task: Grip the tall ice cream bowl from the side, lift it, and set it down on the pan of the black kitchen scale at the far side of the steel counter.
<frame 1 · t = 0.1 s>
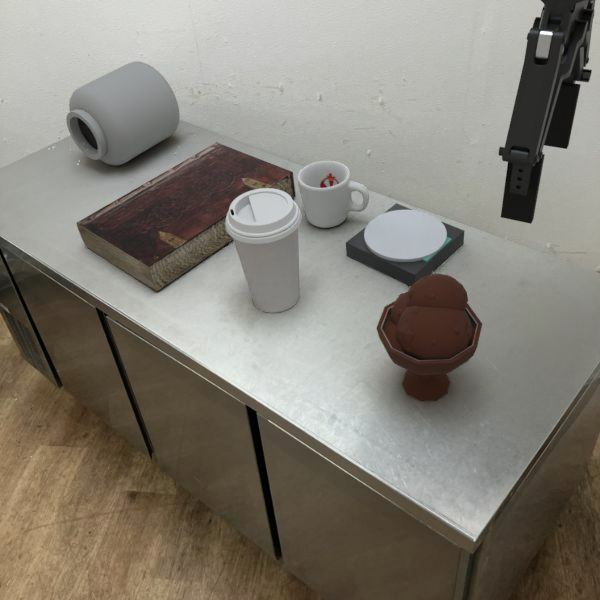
hand: (536, 179, 62), 24 cm above the worktop, tool pointing down, fingers open, 13 cm apart
cup: (336, 220, 101), on the worktop
coffee cup: (276, 297, 89), on the worktop
ice cream bowl: (425, 384, 75), on the worktop
scale: (404, 249, 94), on the worktop
jar: (125, 162, 121), on the worktop
hardback book: (192, 222, 104), on the worktop
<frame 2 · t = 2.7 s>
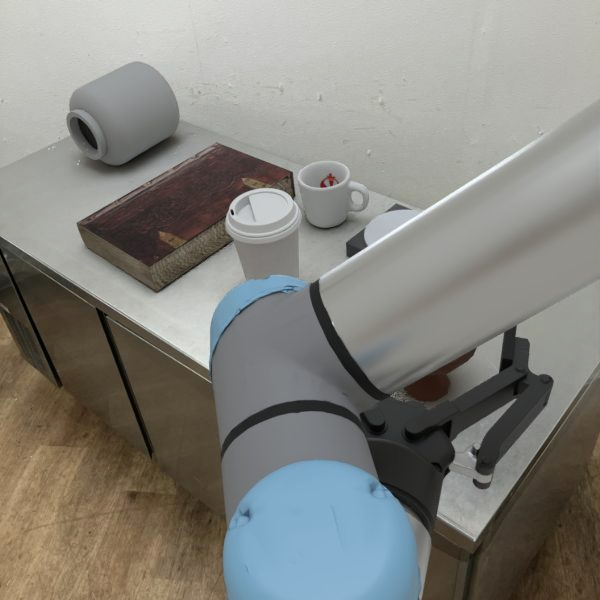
hand: (429, 300, 56), 21 cm above the worktop, tool horizontal, fingers open, 13 cm apart
nothing on the worktop moved.
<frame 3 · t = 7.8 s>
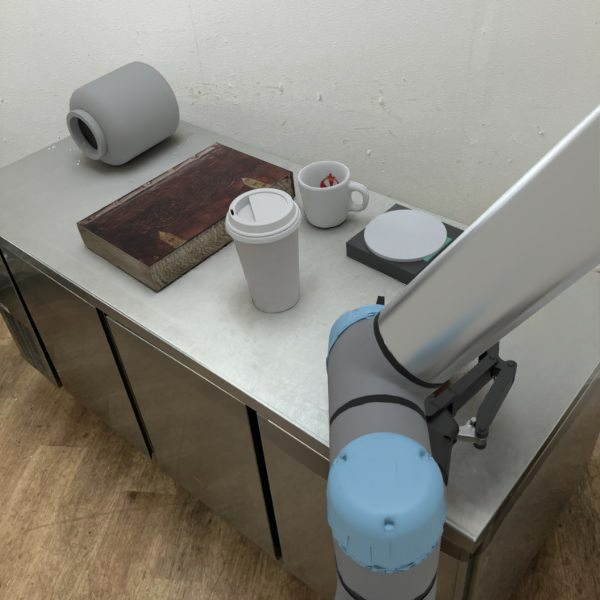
hand: (432, 310, 73), 8 cm above the worktop, tool horizontal, fingers closed on ice cream bowl, 11 cm apart
ice cream bowl: (425, 384, 75), on the worktop, touching gripper
everything else where it was.
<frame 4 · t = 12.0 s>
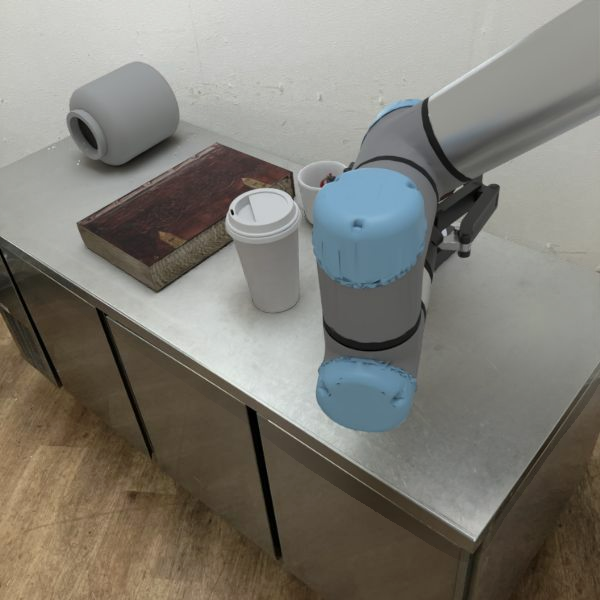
hand: (418, 154, 75), 20 cm above the worktop, tool horizontal, fingers closed on ice cream bowl, 11 cm apart
ice cream bowl: (413, 232, 77), point 12 cm above the worktop, touching gripper
everything else where it was.
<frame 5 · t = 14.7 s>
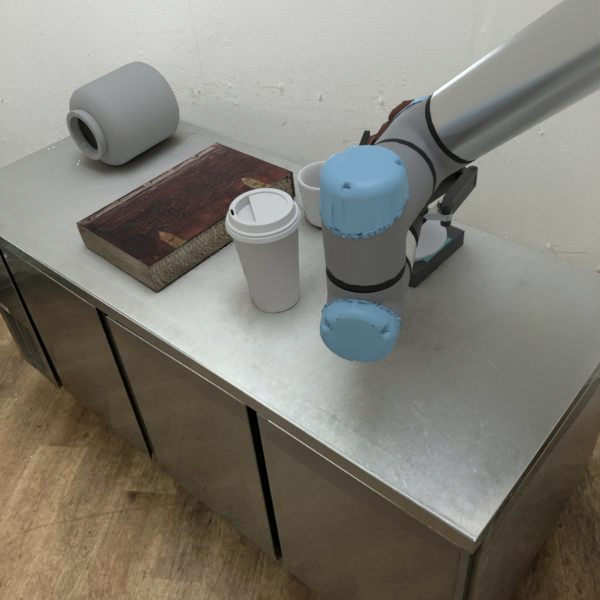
hand: (410, 141, 86), 15 cm above the worktop, tool horizontal, fingers closed on ice cream bowl, 11 cm apart
ice cream bowl: (405, 209, 89), point 7 cm above the worktop, touching gripper
everything else where it was.
when the fingers open (11 cm above the worktop, at t = 16.6 s): ice cream bowl stays where it is, resting on scale.
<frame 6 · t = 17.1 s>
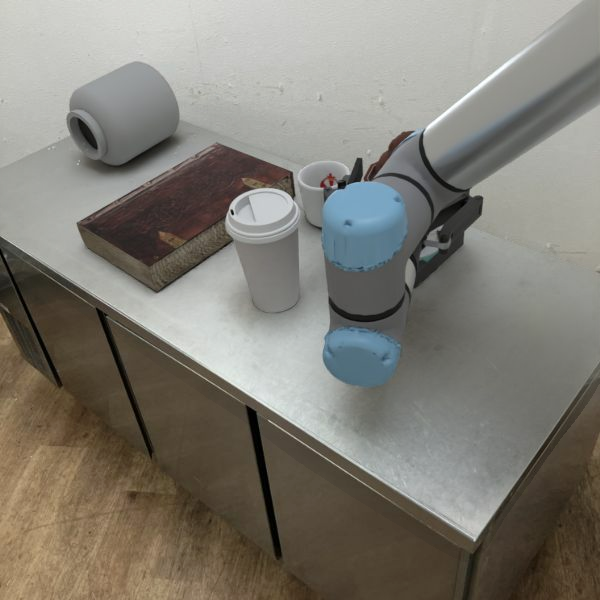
hand: (409, 168, 88), 11 cm above the worktop, tool horizontal, fingers open, 13 cm apart
ice cream bowl: (405, 234, 92), point 3 cm above the worktop, touching scale
everything else where it was.
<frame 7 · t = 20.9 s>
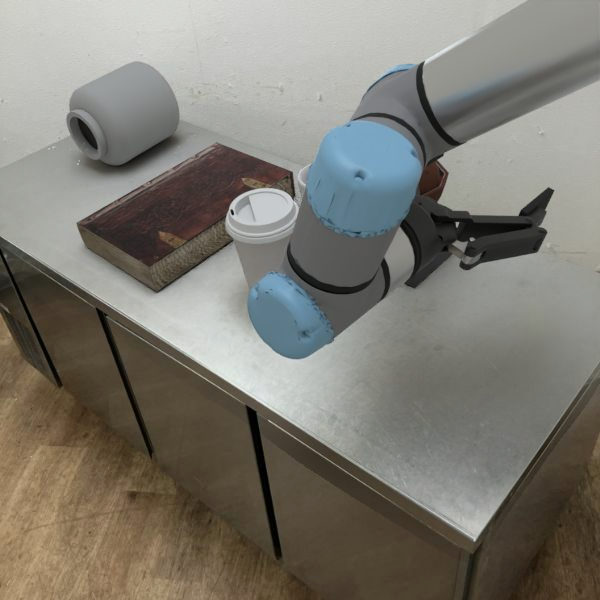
hand: (493, 170, 74), 18 cm above the worktop, tool horizontal, fingers open, 13 cm apart
nothing on the worktop moved.
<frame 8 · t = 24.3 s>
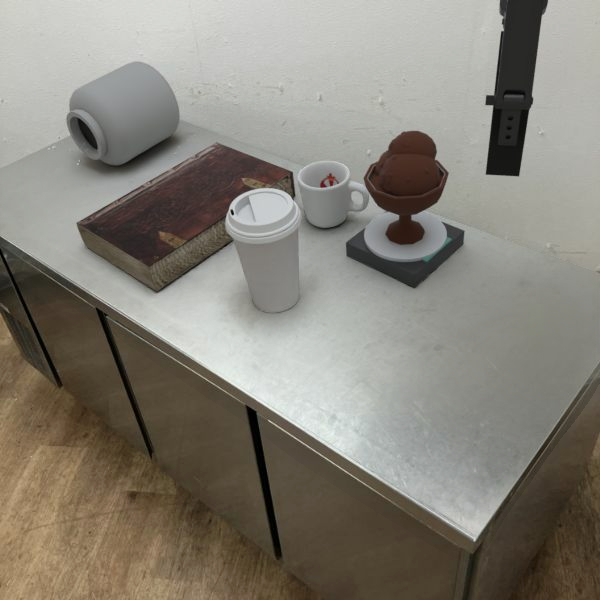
hand: (505, 133, 59), 29 cm above the worktop, tool pointing down, fingers open, 13 cm apart
nothing on the worktop moved.
at the end: ice cream bowl 0.0 cm off-centre on the scale, point 2.8 cm above the scale's base; ice cream bowl tilted 0°; the gripper is holding nothing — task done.
